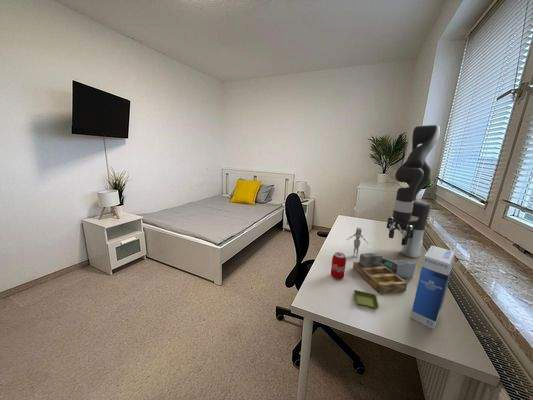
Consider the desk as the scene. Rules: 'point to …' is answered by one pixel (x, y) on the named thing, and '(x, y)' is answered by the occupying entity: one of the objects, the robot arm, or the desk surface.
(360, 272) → the rack
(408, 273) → the rectangular block
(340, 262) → the beverage can
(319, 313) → the desk surface
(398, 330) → the desk surface
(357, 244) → the human figurine
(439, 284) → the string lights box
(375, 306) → the saucer
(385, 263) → the digital multimeter
